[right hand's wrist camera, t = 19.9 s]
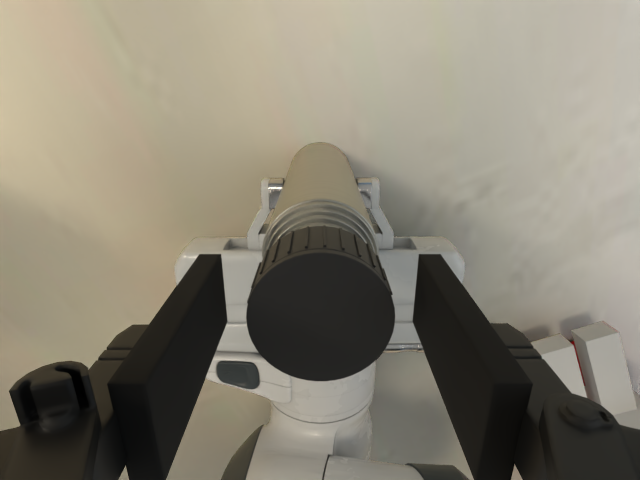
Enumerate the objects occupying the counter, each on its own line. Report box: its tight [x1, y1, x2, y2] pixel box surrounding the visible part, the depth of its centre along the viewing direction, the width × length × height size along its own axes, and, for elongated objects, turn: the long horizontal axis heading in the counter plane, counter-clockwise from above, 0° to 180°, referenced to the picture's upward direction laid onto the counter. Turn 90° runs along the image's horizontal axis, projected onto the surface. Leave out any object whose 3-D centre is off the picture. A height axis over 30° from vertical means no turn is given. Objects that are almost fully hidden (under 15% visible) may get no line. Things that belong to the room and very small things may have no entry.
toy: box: [530, 321, 640, 429], centre depth 38 cm, size 12×13×30 cm
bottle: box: [262, 143, 379, 259], centre depth 23 cm, size 5×5×22 cm
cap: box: [246, 225, 395, 381], centre depth 14 cm, size 5×5×2 cm
